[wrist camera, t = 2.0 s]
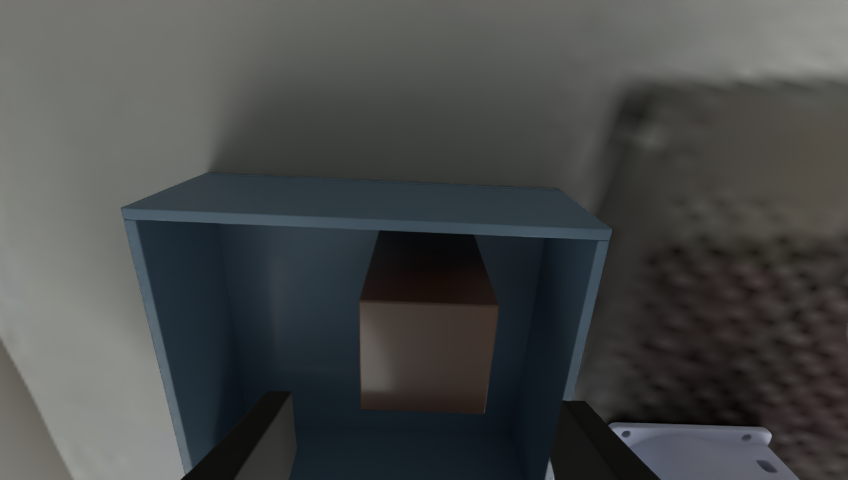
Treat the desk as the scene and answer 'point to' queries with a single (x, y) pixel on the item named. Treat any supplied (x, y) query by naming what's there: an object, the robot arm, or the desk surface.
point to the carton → (339, 316)
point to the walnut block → (426, 324)
